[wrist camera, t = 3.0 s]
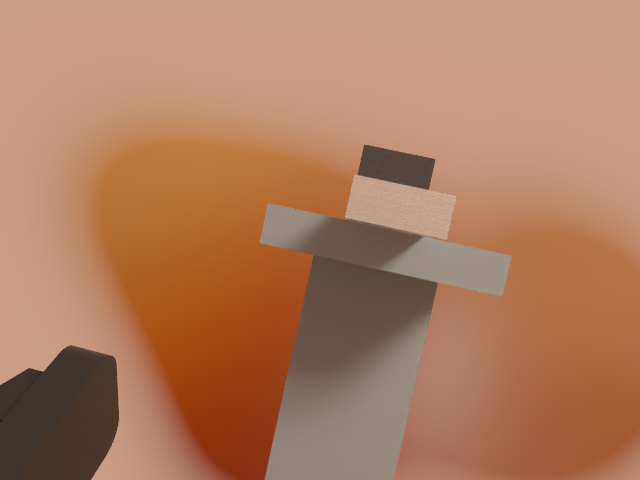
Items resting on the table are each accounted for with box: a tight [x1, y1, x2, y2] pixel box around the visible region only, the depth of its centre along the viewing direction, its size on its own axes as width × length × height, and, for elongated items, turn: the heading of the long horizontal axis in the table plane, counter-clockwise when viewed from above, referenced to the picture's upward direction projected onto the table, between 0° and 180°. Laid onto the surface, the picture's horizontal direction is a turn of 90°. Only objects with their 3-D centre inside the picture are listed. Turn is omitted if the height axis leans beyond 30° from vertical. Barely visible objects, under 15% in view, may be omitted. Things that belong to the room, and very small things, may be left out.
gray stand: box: [260, 203, 511, 480], centre depth 40 cm, size 20×12×32 cm, turn 175°
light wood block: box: [345, 145, 457, 240], centre depth 35 cm, size 28×5×6 cm, turn 175°
